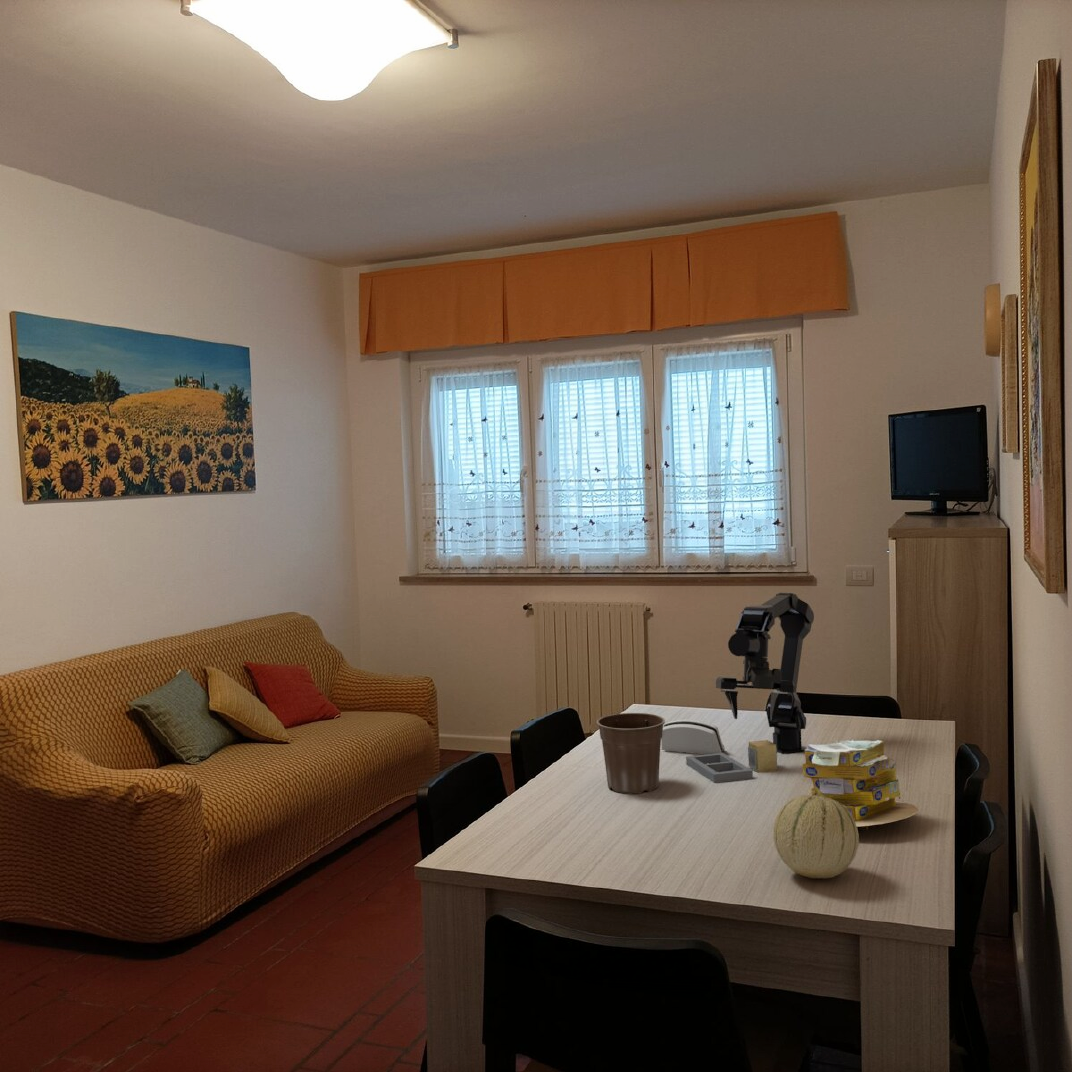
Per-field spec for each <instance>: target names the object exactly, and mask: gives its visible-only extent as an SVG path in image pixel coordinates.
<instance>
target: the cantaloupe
mask: <svg viewBox="0 0 1072 1072" xmlns="http://www.w3.org/2000/svg"><path fill="white" fill-rule="evenodd" d="M815 793H817V795H812V794H804V795H803V794H802V795H798V796H796V797H794V798H791V800H789V801H788V802H787V803H786V804H784V805H783V806H782V808H781V809H780V811H779V812H778V814H777V816H776V818H775V822H774V824H773V842H774V846H775V850H776V851H777V854H778V855H779V857H780V859H781V860H782V862H783V863H784V864H785V865H786V866H787V867H788V868H789V869H790V870H791V872H794V873H796V874H797V875H801V876H803V877H806V878H809V879H813V880H815V879H831V878H835V877H836V876H838V875H840V874H842V873H843V872H844V871H845V870H847V869H848V868H849V867H850V865H851V864H852V863H853V861H854V860H855V857H856V855H857V852H858V849H859V843H860V841H859V839H860V838H859V836H860V835H859V834H860V833H859V830H858V827H857V826H856V823H855V821H854V819H853V817H852V815H851V813H850V812H849V811H848V810H847V809H846V808H845V807H844V806H843V805H842V804H840V803H839V802H837V801H835V800H833V799H830V798H827V797H825V796H824V795H823V794H822V792H821V791H819V790H818V789H816V790H815Z"/></svg>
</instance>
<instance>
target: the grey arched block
mask: <svg viewBox="0 0 1072 1072" xmlns="http://www.w3.org/2000/svg"><path fill="white" fill-rule="evenodd" d="M662 750H665V751H664V752H670V751H677V752H676V753H682V752H686V753H685V754H695V753H697V755H706V754H715V753H723V752H726V749H725V744H723V741H722V738H721V734H720V731H719V728H718V726H716V725H715V724H712V723H708V722H705V721H701V720H696V719H678V720H676V719H675V720H671V721H667V722H665V723H664V724H663V732H662V738H661V751H662Z"/></svg>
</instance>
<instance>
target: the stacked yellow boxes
mask: <svg viewBox="0 0 1072 1072" xmlns="http://www.w3.org/2000/svg"><path fill="white" fill-rule="evenodd" d="M884 748H885V747H884V740H879V739H877V740H873V741H872V740H870V739H867V740H863V739H862V740H861V739H860V740H859V739H858V740H855V739H854V738H853V737H852V738H851V740H850V739H847V740H839V739H837V740H836V741H832V742H829V743H827V744H811V743H810V744H807V745H806V748H805V751H804V757H805V763H804V762H803V763H802V772H803V777H804V778H809V779H811V781H812V785H813V788H810V792H811V794H810V795H817V793H815V790H816V789H818V790H819V791H821V792H822V794H823V795H824V796H825V797H827V798H830V799H833V800H835V801H837V802H839V803H840V804H842V805H843V806H844V807H845V808H846V809H847V810H848V811H849V812H850V813H851V815H852V817H853V819H854V821H855V823H856V826H857V828H858V827H865V830H866V831H868V830H869V826H875V825H883V824H888V823H893V822H897V821H900V820H905V819H908V818H910V817H912V816H914V815H916V814H917V813H918V811H919V808H918V807H917V806H916V805H915V804H911V803H908V802H903V801H897V800H896V798H897V797H898V799H900V800H901V795H900V794H901V792H900V785H899V784H900V782H899V779H897V773H896V767H895V765H896V763H897V762H895V763H894V764H891V761H893V760H892V758H890V757H889V756H887V755H885V749H884Z"/></svg>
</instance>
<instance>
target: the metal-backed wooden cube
mask: <svg viewBox="0 0 1072 1072" xmlns="http://www.w3.org/2000/svg"><path fill="white" fill-rule="evenodd" d="M747 750H748V751H747V756H748V757H747V758H748V768H750V769H751V768H752V769H751V770H753V769H754V770H753V771H755V772H756V771H758V772H757V773H763V772H762V771H767V772H774V771H777V770H778V751H777V748H776V744H774V743H773V741H769V740H768V739H764V740H754V741H748V746H747Z"/></svg>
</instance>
